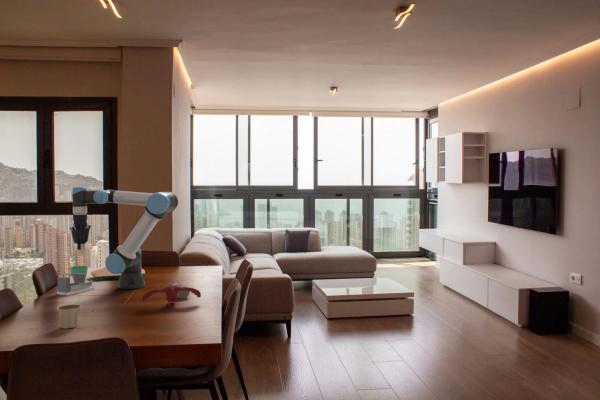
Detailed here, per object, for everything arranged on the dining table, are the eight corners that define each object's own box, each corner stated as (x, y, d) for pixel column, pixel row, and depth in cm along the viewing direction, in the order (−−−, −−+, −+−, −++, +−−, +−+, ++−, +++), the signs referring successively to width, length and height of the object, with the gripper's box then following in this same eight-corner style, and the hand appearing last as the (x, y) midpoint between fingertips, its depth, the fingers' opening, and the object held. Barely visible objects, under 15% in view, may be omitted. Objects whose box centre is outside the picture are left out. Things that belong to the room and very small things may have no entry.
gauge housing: (84, 287, 296) (83, 271, 296) (94, 289, 293) (94, 272, 292) (57, 294, 280) (56, 277, 280) (67, 295, 277) (67, 278, 276)
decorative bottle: (190, 298, 270) (190, 286, 270) (176, 300, 266) (176, 287, 266) (176, 289, 292) (176, 277, 292) (163, 290, 288) (163, 279, 288)
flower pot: (62, 323, 223) (62, 304, 223) (84, 323, 224) (84, 303, 223) (54, 330, 214) (53, 310, 213) (77, 329, 214) (76, 309, 214)
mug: (85, 285, 304) (85, 268, 304) (68, 285, 303) (68, 268, 302) (92, 280, 318) (92, 264, 318) (76, 280, 317) (75, 264, 317)
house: (91, 275, 335) (91, 263, 335) (143, 272, 347) (143, 260, 347) (89, 282, 314) (89, 269, 314) (145, 278, 325) (145, 265, 325)
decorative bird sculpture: (142, 315, 252) (141, 298, 242) (143, 299, 259) (142, 282, 248) (200, 311, 260) (201, 294, 250) (199, 295, 266) (200, 278, 256)
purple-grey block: (76, 287, 291) (76, 272, 290) (85, 288, 287) (85, 274, 287) (68, 289, 286) (68, 274, 286) (78, 290, 283) (78, 275, 282)
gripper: (85, 213, 295) (86, 253, 296) (65, 214, 284) (66, 256, 285) (94, 213, 292) (95, 254, 293) (74, 215, 280) (75, 257, 281)
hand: (81, 255), depth 289 cm, fingers closed
